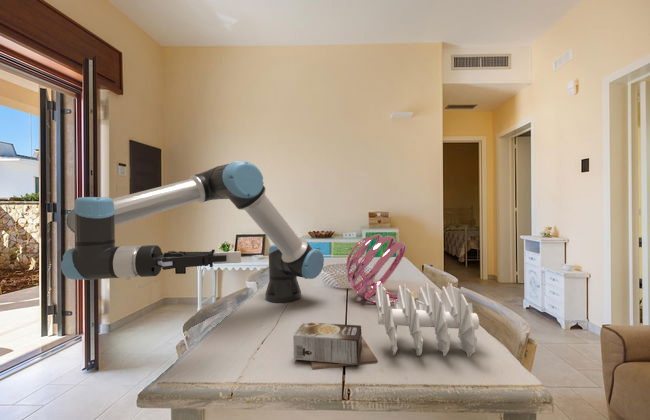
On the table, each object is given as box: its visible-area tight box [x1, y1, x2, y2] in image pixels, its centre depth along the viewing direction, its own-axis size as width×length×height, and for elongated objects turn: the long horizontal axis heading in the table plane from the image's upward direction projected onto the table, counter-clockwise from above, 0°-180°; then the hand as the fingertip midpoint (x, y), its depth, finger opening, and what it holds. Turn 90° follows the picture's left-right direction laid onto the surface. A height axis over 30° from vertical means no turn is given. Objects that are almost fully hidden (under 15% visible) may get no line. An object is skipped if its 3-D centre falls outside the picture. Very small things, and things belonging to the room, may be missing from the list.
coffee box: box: [293, 321, 363, 366], centre depth 77 cm, size 9×6×16 cm
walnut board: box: [310, 336, 379, 370], centre depth 81 cm, size 18×16×1 cm
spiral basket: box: [345, 233, 407, 305], centre depth 123 cm, size 28×28×27 cm
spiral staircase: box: [375, 282, 480, 358], centre depth 78 cm, size 18×18×25 cm
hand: (240, 256), depth 77 cm, fingers closed
